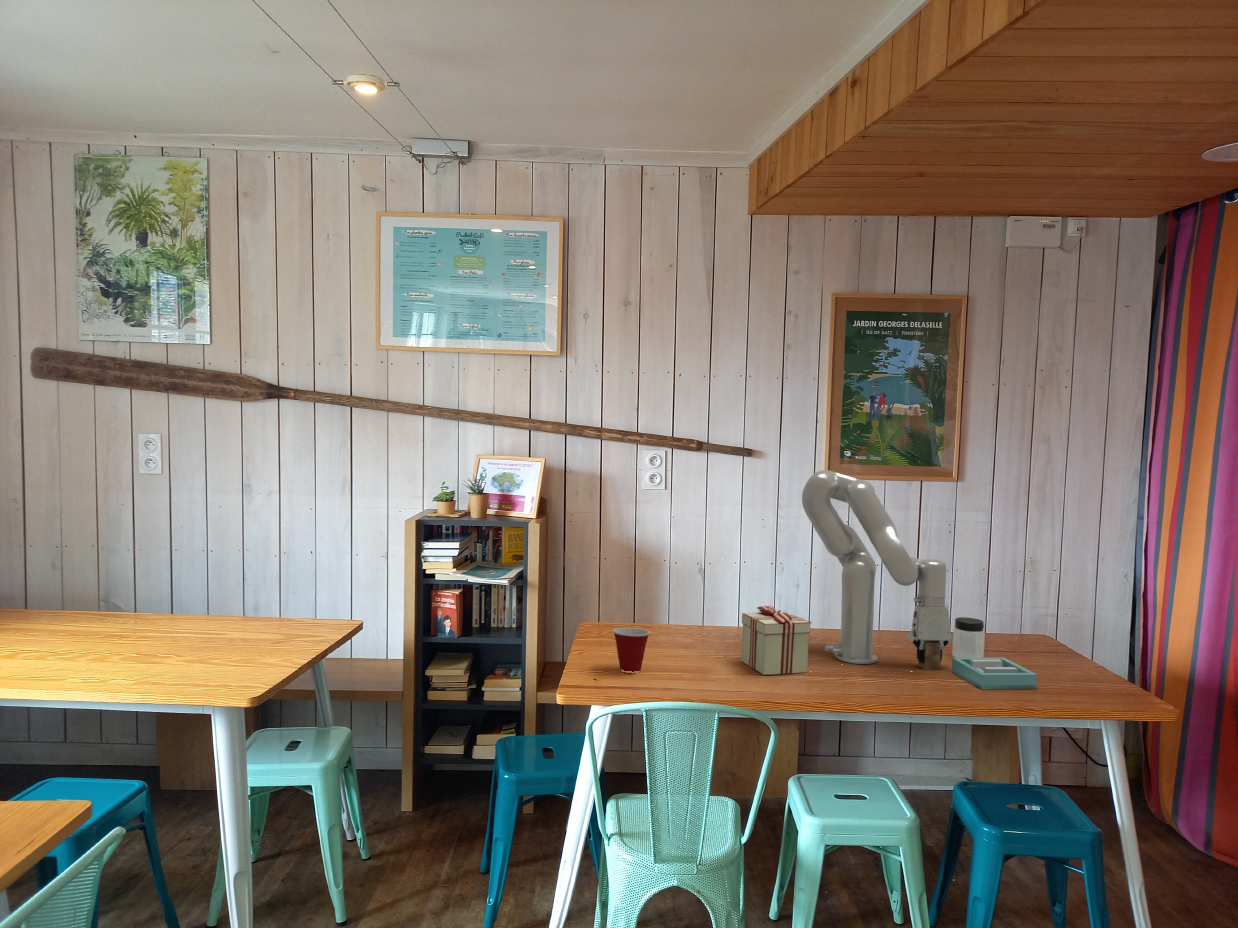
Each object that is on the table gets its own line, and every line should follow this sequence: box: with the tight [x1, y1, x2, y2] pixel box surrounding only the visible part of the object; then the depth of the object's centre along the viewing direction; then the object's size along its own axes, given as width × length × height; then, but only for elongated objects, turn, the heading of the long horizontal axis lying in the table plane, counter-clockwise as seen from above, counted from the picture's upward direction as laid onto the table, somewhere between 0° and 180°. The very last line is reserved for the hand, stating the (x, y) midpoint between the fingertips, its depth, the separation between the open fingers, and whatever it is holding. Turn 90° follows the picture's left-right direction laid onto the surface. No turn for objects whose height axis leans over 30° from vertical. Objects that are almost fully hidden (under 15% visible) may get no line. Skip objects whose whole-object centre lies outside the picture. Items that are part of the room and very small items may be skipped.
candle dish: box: [951, 657, 1038, 690], centre depth 224 cm, size 16×16×4 cm
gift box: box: [740, 605, 812, 676], centre depth 233 cm, size 17×18×17 cm
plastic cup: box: [612, 627, 651, 672], centre depth 226 cm, size 11×11×12 cm
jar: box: [951, 616, 986, 658], centre depth 245 cm, size 9×8×12 cm
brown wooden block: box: [917, 641, 941, 671], centre depth 235 cm, size 4×4×8 cm
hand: (929, 661), depth 235 cm, fingers closed on brown wooden block, 4 cm apart
